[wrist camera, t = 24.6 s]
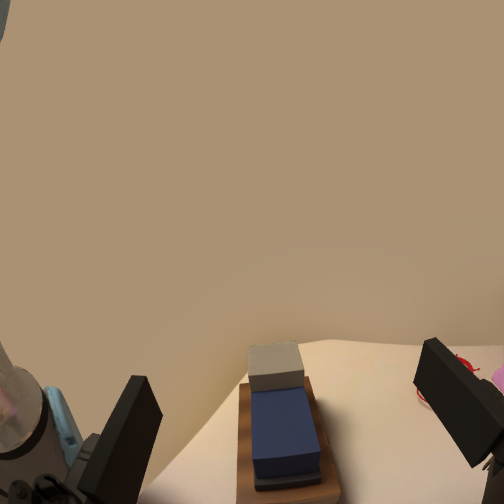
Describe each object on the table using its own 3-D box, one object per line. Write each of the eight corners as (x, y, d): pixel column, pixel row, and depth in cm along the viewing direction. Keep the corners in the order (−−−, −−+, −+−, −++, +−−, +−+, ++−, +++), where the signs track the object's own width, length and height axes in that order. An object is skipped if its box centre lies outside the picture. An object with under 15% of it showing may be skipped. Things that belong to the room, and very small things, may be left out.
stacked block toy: (320, 483, 22) (328, 442, 20) (255, 491, 22) (245, 452, 20) (298, 385, 41) (296, 336, 39) (252, 390, 41) (245, 342, 39)
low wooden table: (334, 508, 22) (341, 492, 20) (243, 519, 22) (236, 505, 20) (307, 400, 45) (308, 375, 43) (244, 407, 45) (239, 383, 43)
